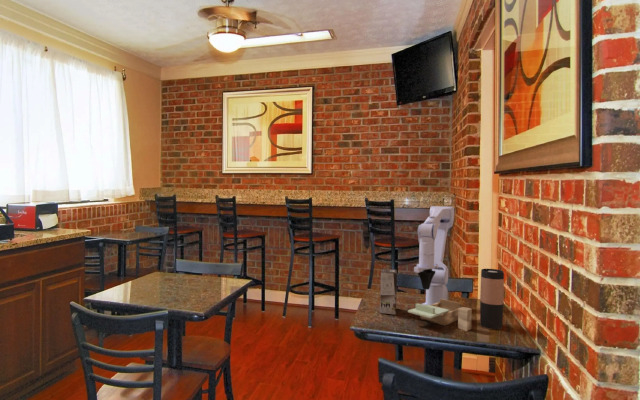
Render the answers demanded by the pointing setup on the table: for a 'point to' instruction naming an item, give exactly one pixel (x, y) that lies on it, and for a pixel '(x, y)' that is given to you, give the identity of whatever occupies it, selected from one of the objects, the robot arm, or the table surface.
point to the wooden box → (446, 317)
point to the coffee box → (388, 291)
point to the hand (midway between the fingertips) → (425, 288)
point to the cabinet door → (428, 310)
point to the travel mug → (491, 298)
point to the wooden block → (464, 318)
